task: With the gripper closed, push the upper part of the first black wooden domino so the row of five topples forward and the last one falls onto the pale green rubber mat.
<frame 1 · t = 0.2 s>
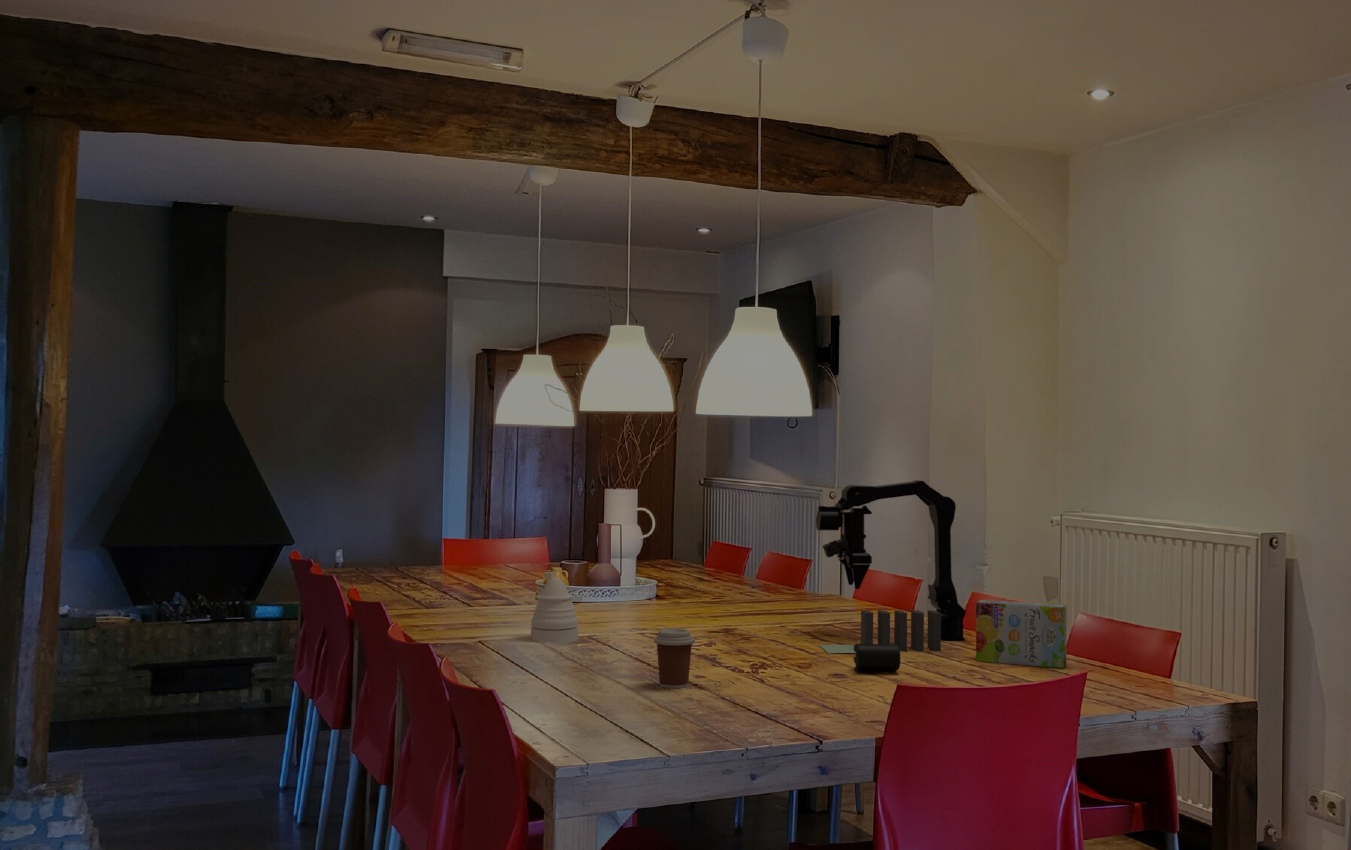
hand: (853, 586, 313), 14 cm above the table, tool pointing down, fingers open, 9 cm apart
domino 1: (934, 649, 298), on the table
domino 3: (900, 649, 297), on the table
snack box: (1020, 664, 280), on the table
coffee cup: (673, 686, 249), on the table
end cap: (876, 673, 267), on the table
domino 4: (883, 649, 297), on the table
honey pot: (554, 639, 308), on the table
domino 2: (917, 649, 298), on the table
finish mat: (840, 649, 296), on the table
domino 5: (866, 649, 296), on the table
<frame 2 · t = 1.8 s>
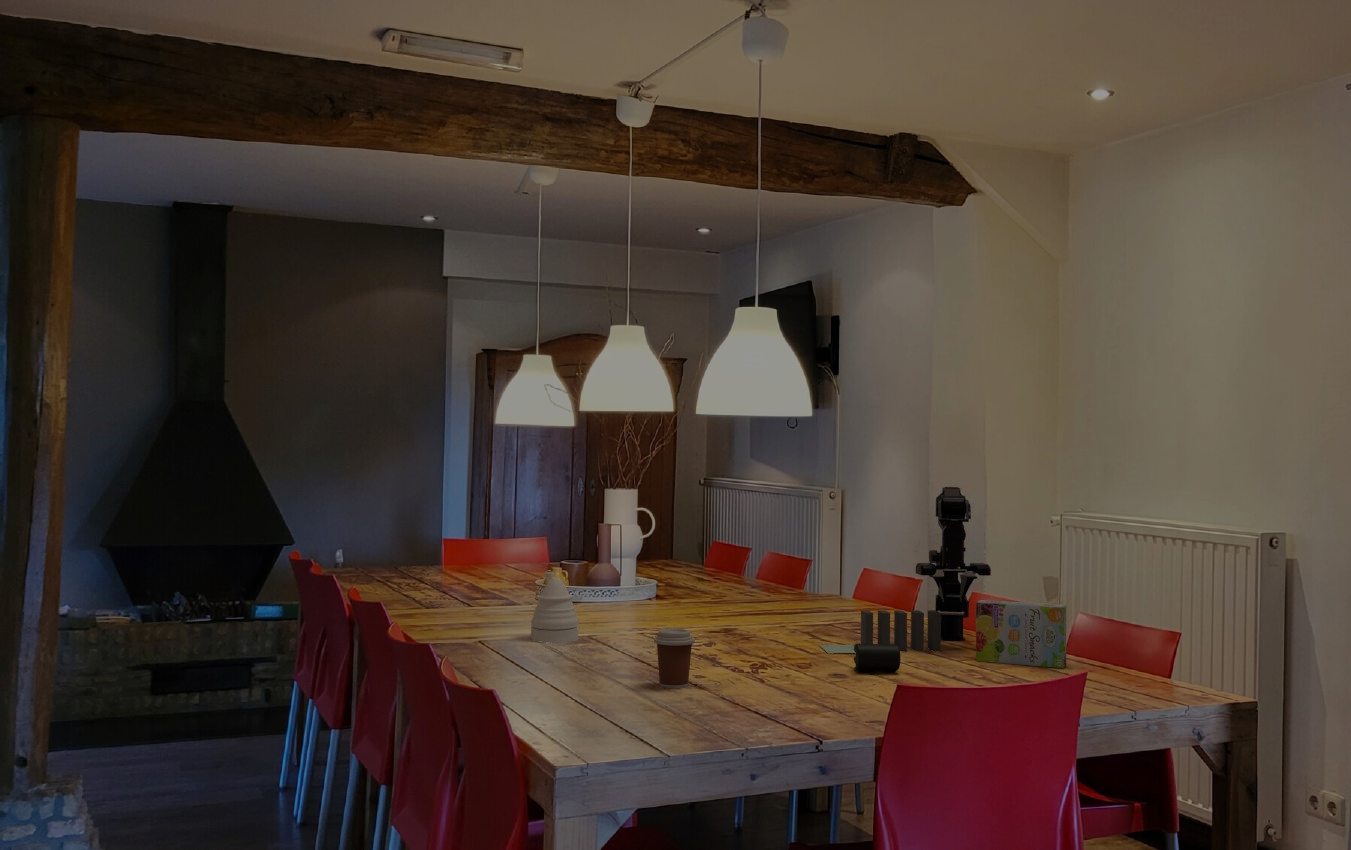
hand: (952, 602, 299), 12 cm above the table, tool pointing down, fingers open, 4 cm apart
nothing on the table moved.
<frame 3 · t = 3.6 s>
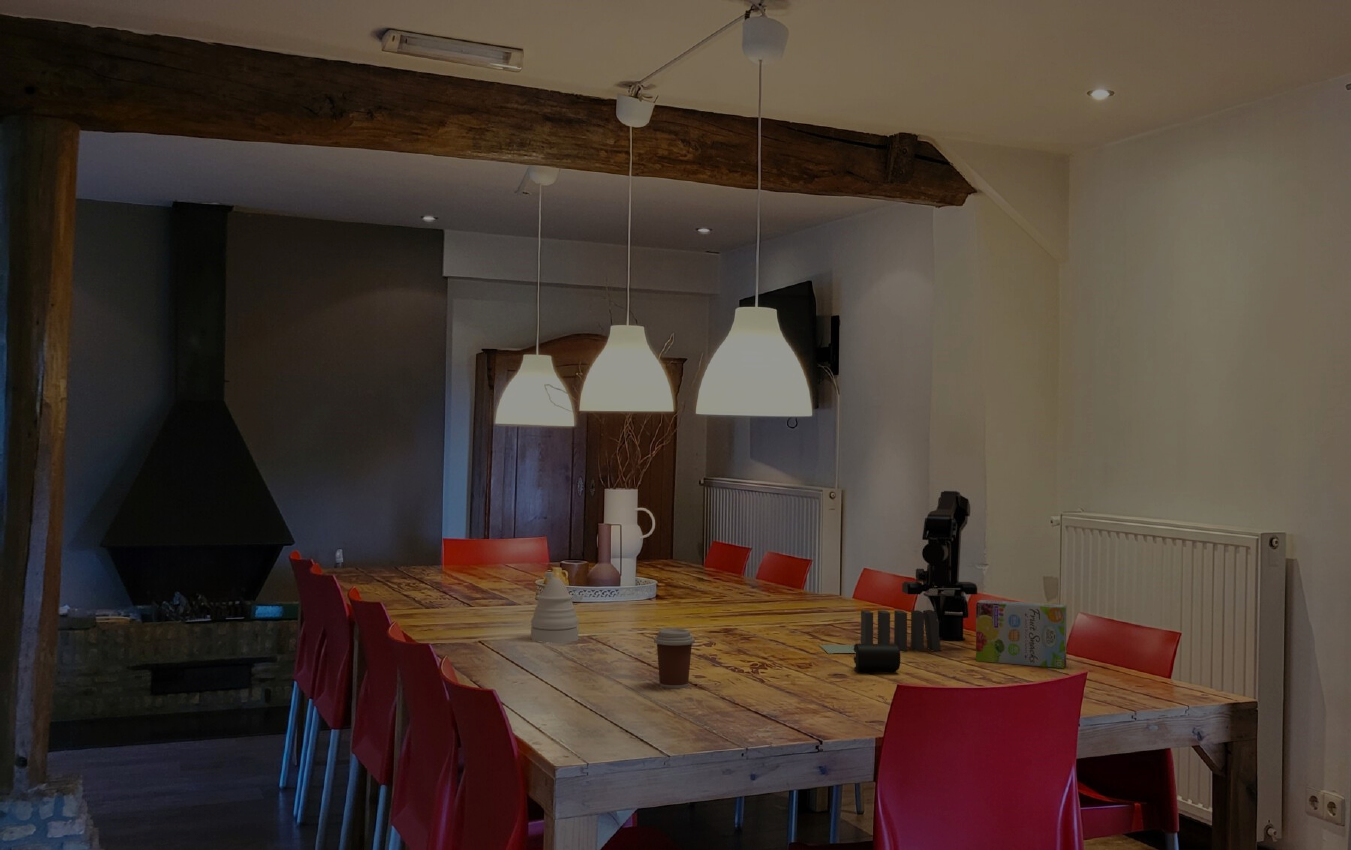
hand: (939, 620, 298), 8 cm above the table, tool pointing down, fingers closed
domino 1: (933, 649, 298), on the table, tilted 7°
everything else where it was.
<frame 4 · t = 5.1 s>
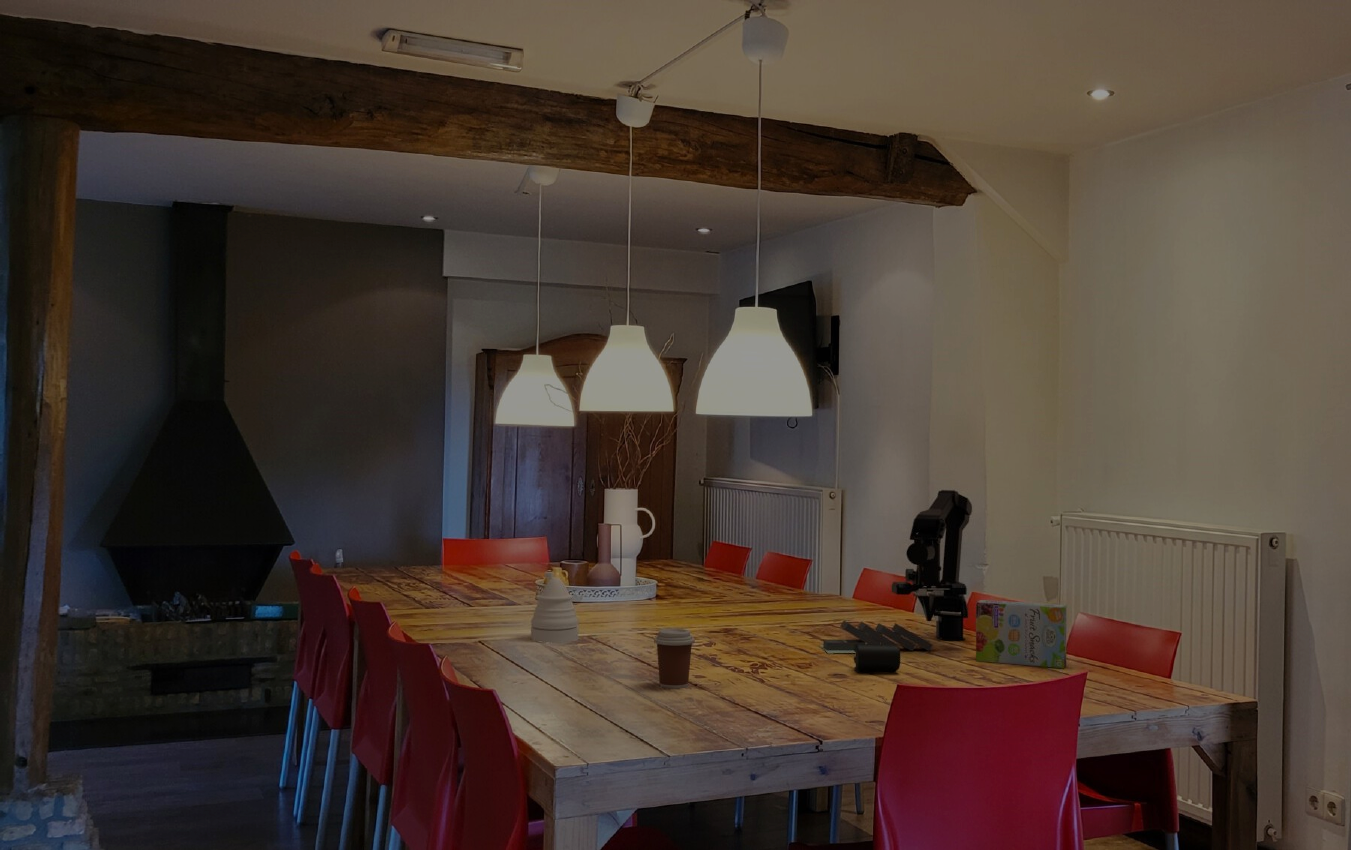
hand: (928, 621, 298), 7 cm above the table, tool pointing down, fingers closed
domino 1: (928, 646, 298), point 1 cm above the table, tilted 61°, touching domino 2
domino 3: (893, 646, 297), point 1 cm above the table, tilted 57°, touching domino 2, domino 4
domino 4: (876, 644, 297), point 1 cm above the table, tilted 59°, touching domino 3, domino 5
domino 2: (911, 646, 297), point 1 cm above the table, tilted 61°, touching domino 1, domino 3
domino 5: (863, 644, 296), point 1 cm above the table, tilted 90°, touching domino 4, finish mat
everything else where it was.
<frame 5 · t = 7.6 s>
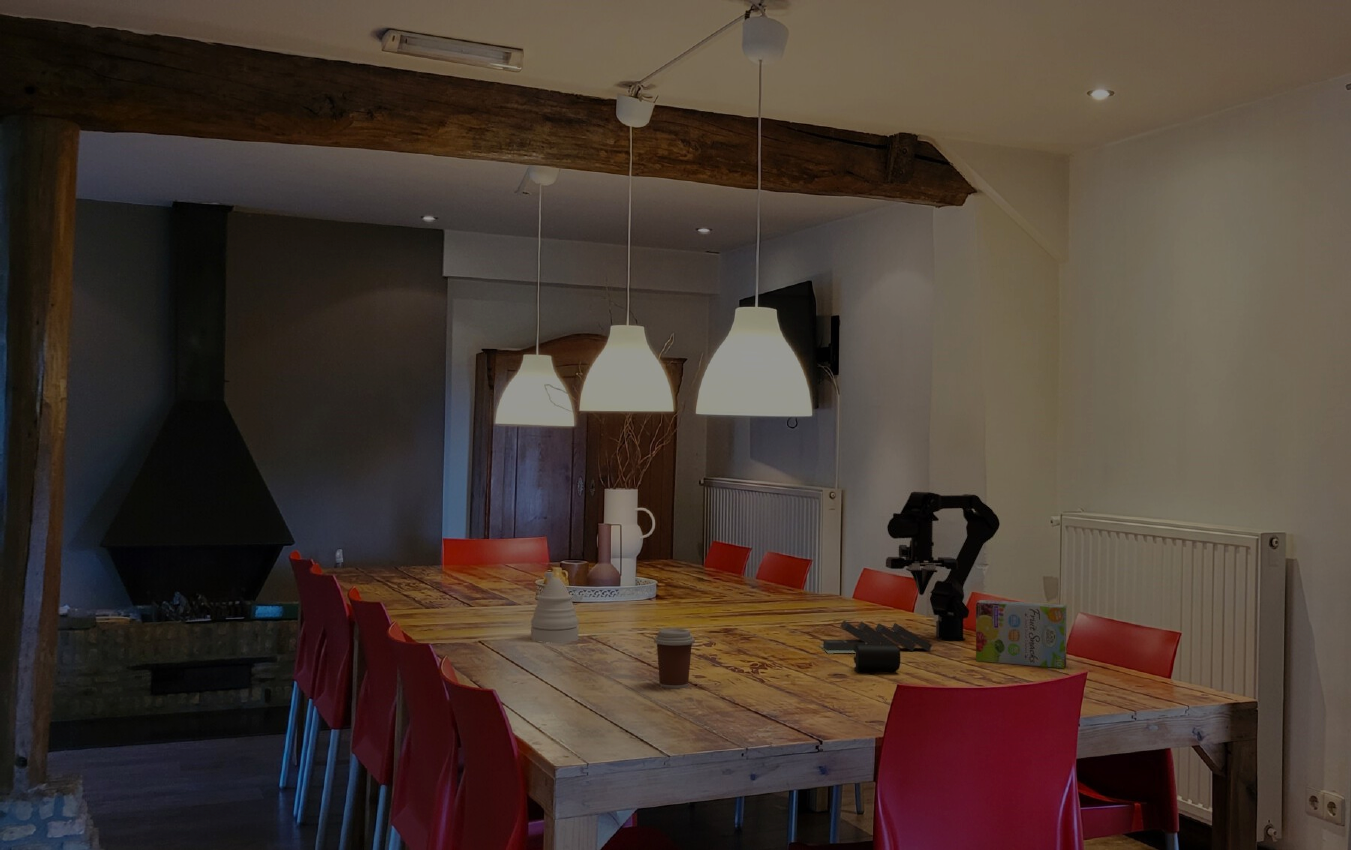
hand: (921, 594, 310), 13 cm above the table, tool pointing down, fingers closed
nothing on the table moved.
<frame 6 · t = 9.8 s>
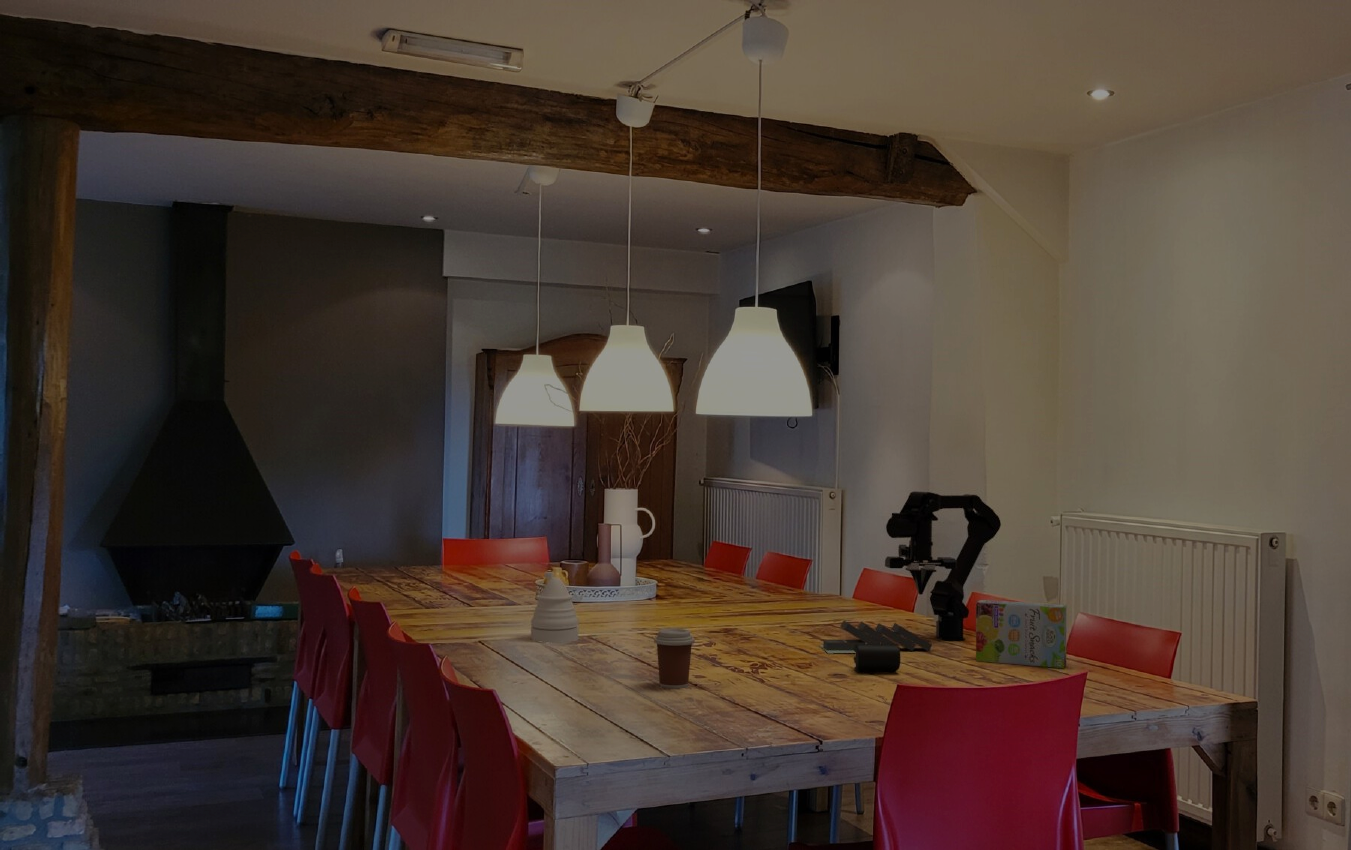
hand: (920, 594, 310), 13 cm above the table, tool pointing down, fingers closed
nothing on the table moved.
at the end: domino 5 tilted 90°; domino 1 tilted 60° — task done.
